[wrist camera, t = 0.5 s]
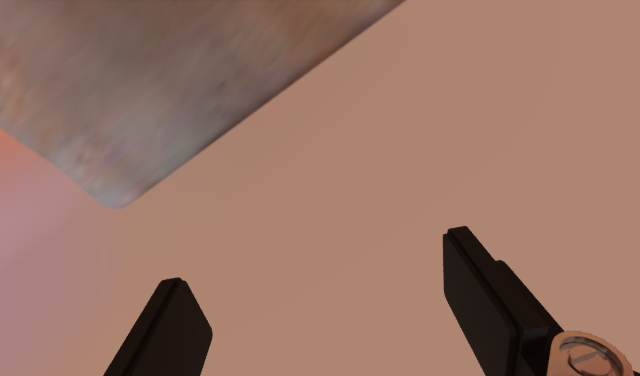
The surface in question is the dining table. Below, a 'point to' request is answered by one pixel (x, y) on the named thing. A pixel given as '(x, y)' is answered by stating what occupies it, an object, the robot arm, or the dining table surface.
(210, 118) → the dining table surface
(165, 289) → the robot arm
